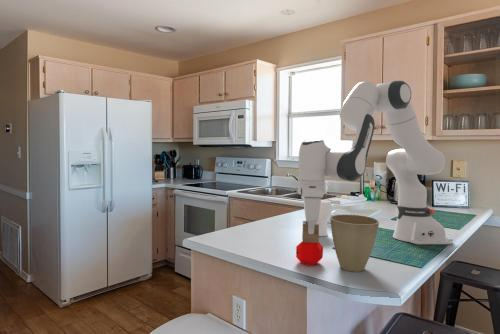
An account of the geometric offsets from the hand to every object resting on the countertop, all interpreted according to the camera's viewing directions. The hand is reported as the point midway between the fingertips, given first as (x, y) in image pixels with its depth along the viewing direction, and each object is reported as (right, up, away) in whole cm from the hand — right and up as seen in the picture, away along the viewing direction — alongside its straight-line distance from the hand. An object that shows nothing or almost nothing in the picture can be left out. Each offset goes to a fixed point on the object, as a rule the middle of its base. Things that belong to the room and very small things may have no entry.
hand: (310, 230), depth 115 cm
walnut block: (0, -4, 0) cm, 4 cm away
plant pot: (+13, -12, -4) cm, 18 cm away
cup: (+11, -9, +40) cm, 42 cm away
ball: (0, -11, +1) cm, 11 cm away
